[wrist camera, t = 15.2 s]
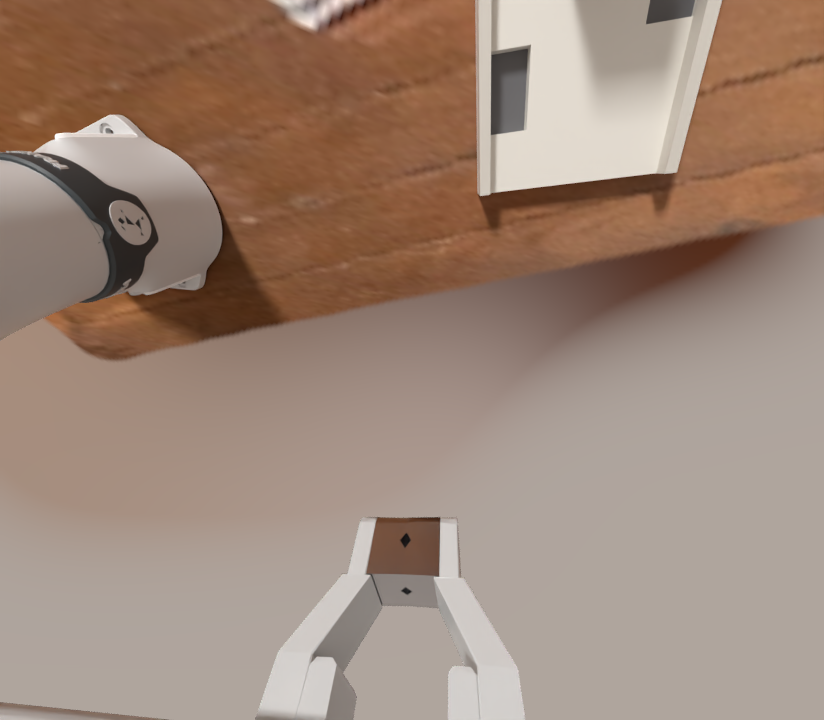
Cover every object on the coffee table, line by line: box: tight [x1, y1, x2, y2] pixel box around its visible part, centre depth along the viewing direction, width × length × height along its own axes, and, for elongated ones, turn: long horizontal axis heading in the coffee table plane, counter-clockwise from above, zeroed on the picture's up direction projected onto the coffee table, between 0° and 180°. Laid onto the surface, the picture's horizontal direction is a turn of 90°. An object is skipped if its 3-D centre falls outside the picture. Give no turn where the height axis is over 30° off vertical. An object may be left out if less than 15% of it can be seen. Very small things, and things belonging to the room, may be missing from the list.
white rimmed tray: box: [475, 0, 722, 196], centre depth 26 cm, size 18×24×4 cm
